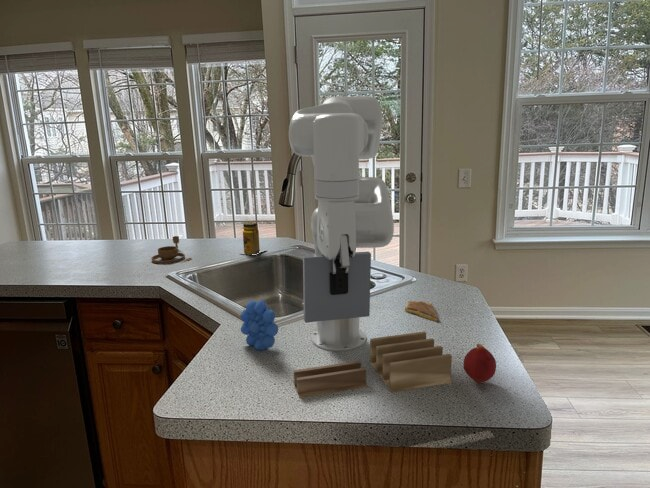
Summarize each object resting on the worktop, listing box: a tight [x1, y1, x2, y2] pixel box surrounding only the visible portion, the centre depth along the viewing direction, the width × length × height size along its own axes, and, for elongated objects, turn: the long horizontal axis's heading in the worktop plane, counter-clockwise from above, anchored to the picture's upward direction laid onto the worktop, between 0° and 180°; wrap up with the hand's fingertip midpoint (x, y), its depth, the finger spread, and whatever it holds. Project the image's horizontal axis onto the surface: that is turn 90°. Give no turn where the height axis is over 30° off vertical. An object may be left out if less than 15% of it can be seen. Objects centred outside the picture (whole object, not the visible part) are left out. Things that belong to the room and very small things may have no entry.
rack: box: [368, 331, 453, 393], centre depth 90 cm, size 12×12×6 cm
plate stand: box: [292, 360, 369, 399], centre depth 87 cm, size 6×13×4 cm, turn 105°
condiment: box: [242, 221, 261, 256], centre depth 180 cm, size 7×8×12 cm
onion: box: [462, 343, 497, 384], centre depth 87 cm, size 6×6×8 cm
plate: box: [302, 250, 372, 324], centre depth 83 cm, size 1×12×12 cm, turn 103°
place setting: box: [150, 235, 193, 265], centre depth 177 cm, size 18×20×6 cm
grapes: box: [240, 300, 279, 351], centre depth 101 cm, size 12×7×12 cm, turn 47°
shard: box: [404, 300, 439, 322], centre depth 120 cm, size 11×8×2 cm
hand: (337, 291), depth 83 cm, fingers closed on plate, 1 cm apart
